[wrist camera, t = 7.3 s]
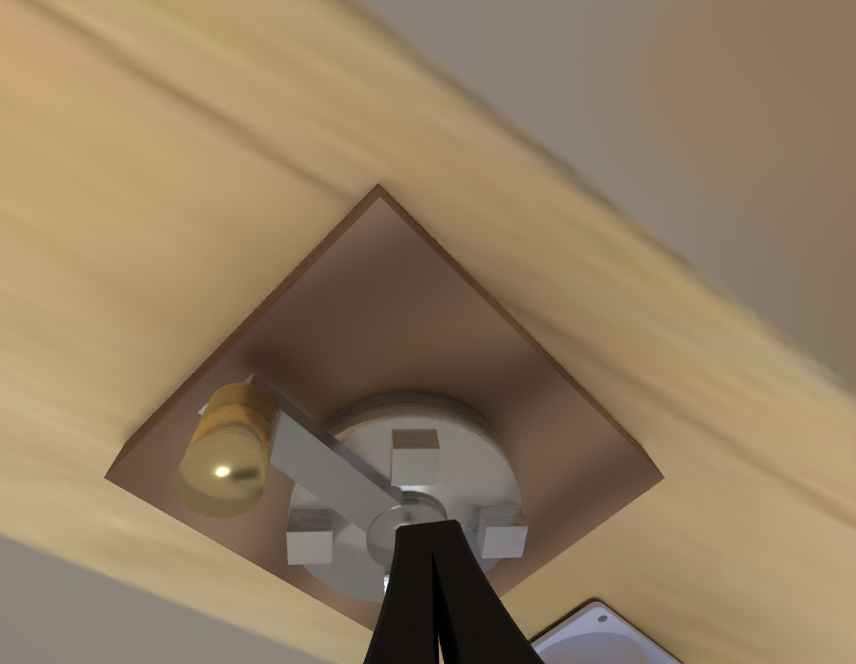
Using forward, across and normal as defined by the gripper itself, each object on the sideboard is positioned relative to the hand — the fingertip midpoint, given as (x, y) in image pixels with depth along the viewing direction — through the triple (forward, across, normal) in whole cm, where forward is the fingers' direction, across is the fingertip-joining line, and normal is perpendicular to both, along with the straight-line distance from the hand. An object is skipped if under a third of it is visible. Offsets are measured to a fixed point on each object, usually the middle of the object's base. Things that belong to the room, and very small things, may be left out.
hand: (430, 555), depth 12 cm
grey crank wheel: (+7, +2, +3) cm, 8 cm away
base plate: (+10, 0, +4) cm, 11 cm away
